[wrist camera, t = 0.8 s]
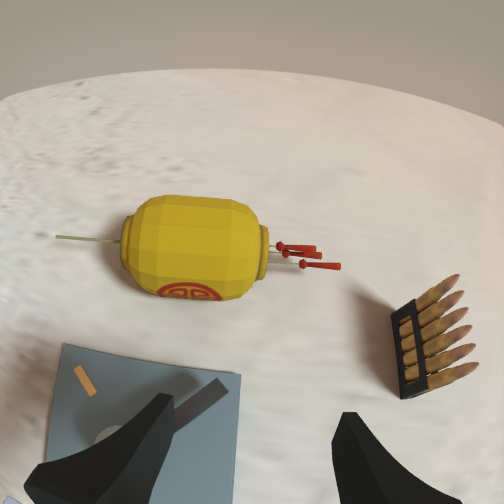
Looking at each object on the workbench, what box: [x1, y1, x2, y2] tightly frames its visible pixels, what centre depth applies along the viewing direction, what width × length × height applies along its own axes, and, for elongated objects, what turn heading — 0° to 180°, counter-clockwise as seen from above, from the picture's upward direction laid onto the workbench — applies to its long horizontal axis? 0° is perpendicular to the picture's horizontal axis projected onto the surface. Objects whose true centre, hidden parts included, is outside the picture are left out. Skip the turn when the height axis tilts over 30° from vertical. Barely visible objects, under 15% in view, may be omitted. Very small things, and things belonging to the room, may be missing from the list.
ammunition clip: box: [391, 274, 479, 399], centre depth 28 cm, size 11×2×12 cm, turn 179°
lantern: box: [56, 195, 341, 301], centre depth 31 cm, size 10×10×30 cm
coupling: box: [94, 378, 229, 444], centre depth 22 cm, size 12×5×5 cm, turn 132°
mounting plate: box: [46, 344, 241, 504], centre depth 23 cm, size 18×18×1 cm
